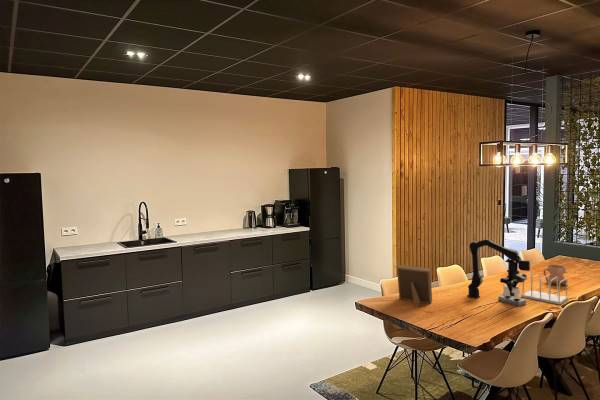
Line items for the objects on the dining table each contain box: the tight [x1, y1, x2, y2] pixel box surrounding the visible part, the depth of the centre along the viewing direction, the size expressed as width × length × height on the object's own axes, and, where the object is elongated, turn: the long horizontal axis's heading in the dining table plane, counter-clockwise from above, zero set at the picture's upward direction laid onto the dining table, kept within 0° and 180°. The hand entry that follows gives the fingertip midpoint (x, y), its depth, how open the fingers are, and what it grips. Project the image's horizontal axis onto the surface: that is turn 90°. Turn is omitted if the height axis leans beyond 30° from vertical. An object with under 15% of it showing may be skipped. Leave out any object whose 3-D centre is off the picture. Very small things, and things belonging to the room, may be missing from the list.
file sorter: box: [520, 271, 569, 305], centre depth 310 cm, size 25×17×16 cm
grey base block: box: [497, 295, 527, 307], centre depth 302 cm, size 15×8×3 cm, turn 30°
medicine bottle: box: [502, 284, 519, 297], centre depth 318 cm, size 7×7×12 cm
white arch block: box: [504, 286, 521, 299], centre depth 302 cm, size 10×3×6 cm, turn 30°
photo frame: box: [396, 264, 433, 308], centre depth 303 cm, size 15×22×25 cm
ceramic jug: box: [542, 264, 570, 286], centre depth 346 cm, size 18×14×14 cm
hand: (512, 291), depth 302 cm, fingers closed on white arch block, 3 cm apart
